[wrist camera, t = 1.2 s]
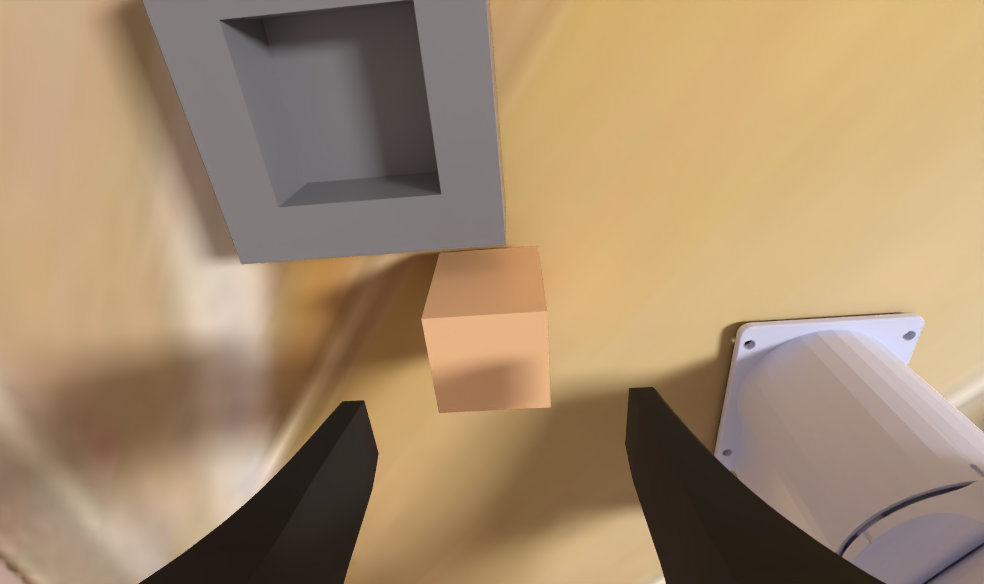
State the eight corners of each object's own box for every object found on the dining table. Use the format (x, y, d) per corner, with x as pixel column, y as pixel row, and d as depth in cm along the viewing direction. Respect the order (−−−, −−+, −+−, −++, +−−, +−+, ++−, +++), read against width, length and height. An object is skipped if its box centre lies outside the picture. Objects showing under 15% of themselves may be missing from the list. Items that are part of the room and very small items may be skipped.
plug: (540, 314, 23) (551, 407, 17) (454, 319, 23) (439, 412, 18) (536, 234, 21) (547, 311, 15) (442, 240, 21) (421, 318, 16)
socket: (506, 209, 20) (506, 245, 17) (281, 226, 21) (241, 264, 18) (483, -78, 16) (477, -101, 13) (194, -44, 16) (120, -59, 13)
